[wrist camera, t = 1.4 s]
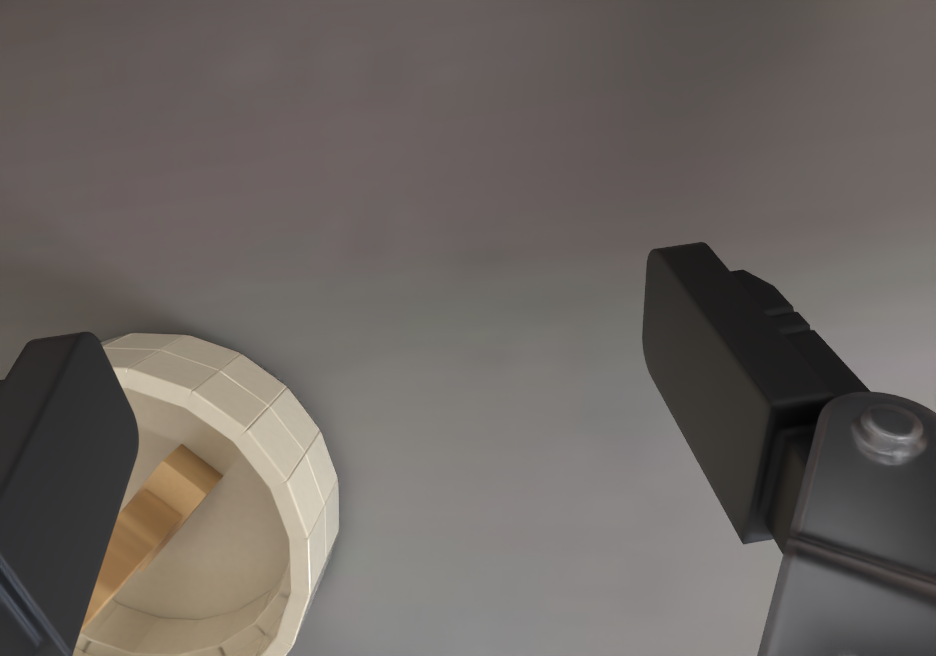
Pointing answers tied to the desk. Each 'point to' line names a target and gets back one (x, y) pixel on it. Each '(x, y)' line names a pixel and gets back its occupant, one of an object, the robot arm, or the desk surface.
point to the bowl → (221, 507)
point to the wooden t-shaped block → (151, 521)
